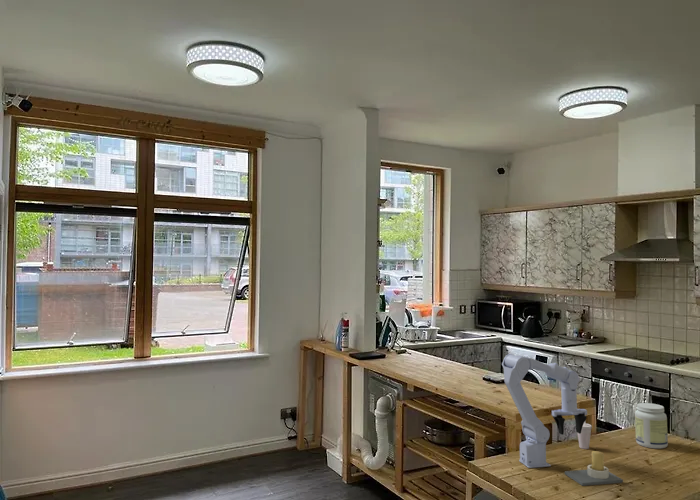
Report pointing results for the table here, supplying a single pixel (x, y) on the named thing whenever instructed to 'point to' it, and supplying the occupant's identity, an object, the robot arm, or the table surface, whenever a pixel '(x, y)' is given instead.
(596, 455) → the peg
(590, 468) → the holder
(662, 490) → the table surface
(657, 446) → the supplement tub
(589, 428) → the smoothie
